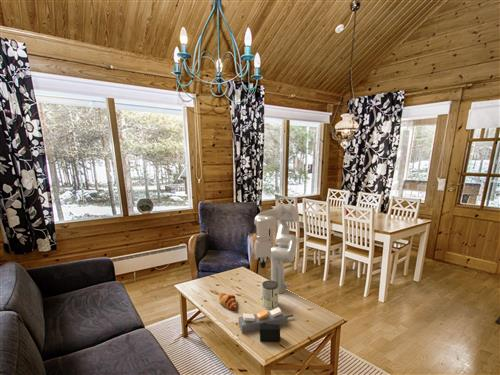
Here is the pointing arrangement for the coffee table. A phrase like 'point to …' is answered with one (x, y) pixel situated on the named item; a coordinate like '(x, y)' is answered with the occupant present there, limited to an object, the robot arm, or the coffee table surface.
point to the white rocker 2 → (275, 312)
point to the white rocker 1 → (248, 317)
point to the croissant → (228, 301)
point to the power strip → (255, 325)
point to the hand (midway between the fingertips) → (262, 267)
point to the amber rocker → (262, 314)
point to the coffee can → (270, 294)
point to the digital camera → (269, 332)
